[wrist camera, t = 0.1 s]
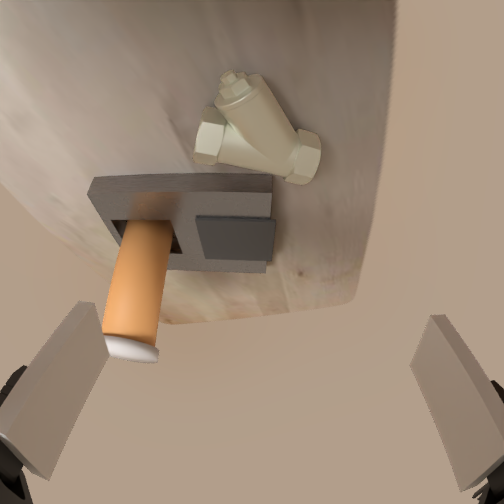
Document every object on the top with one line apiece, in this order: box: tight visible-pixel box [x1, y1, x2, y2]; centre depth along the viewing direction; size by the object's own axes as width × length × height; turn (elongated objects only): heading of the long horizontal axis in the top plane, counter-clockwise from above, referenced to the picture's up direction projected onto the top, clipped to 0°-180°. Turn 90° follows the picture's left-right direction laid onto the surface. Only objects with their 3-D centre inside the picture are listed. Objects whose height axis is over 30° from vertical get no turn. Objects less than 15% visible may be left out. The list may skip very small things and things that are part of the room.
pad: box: [195, 218, 276, 261], centre depth 30 cm, size 7×7×1 cm
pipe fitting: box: [192, 70, 321, 185], centre depth 19 cm, size 8×4×7 cm
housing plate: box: [87, 173, 272, 273], centre depth 31 cm, size 14×16×2 cm
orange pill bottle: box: [102, 220, 174, 363], centre depth 28 cm, size 6×6×14 cm
